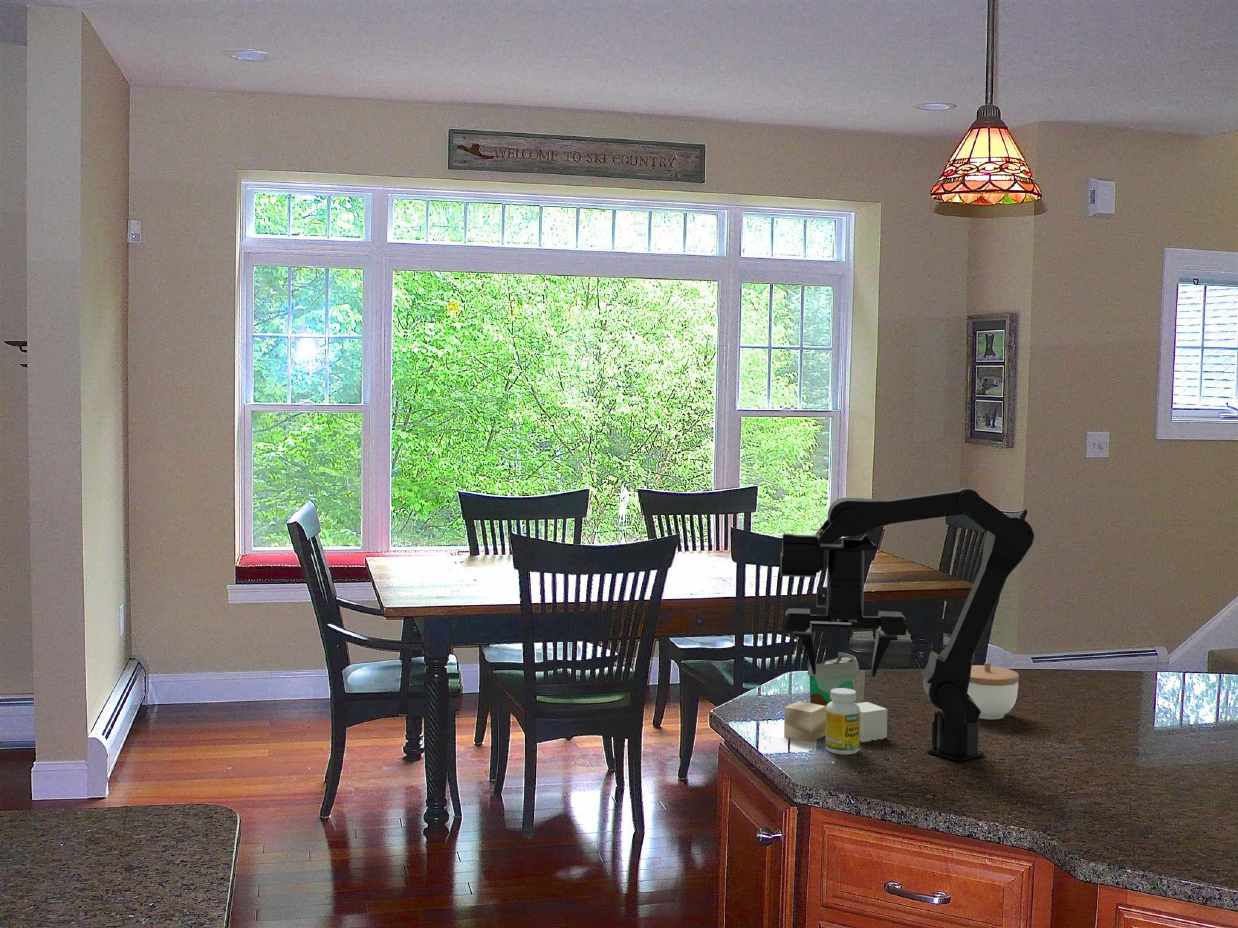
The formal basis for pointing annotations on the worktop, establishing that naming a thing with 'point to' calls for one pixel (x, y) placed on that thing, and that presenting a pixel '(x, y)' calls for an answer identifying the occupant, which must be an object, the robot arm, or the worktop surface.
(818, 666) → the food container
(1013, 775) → the worktop surface
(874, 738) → the white cube
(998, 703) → the lidded jar
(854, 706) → the supplement bottle
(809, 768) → the worktop surface
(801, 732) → the maple block
